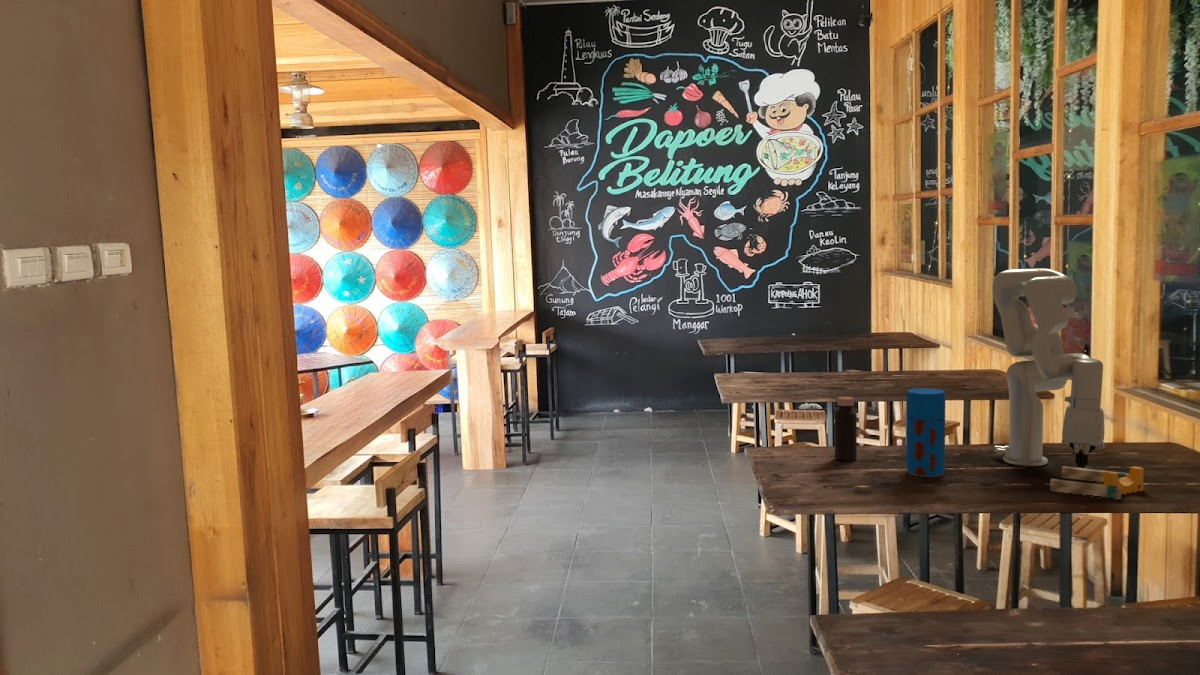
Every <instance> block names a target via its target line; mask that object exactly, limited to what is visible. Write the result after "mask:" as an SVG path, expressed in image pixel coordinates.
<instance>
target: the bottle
mask: <svg viewBox="0 0 1200 675" xmlns="http://www.w3.org/2000/svg"><path fill="white" fill-rule="evenodd" d="M854 403H855V402H854V397H852V396H838V397H837V407H838V409H837V410H836V411H835V412H834V458H835V460H836V459H837V460H836V461H839V460H840V461H839V462H853V461H852V460H854V461H856V460H857V459H858V458H857V457H858V455H857V454H858V453H857V452H858V451H857V450H858V448H857V446H858V444H857V440H858V438H857V435H858V434H857V433H858V432H857V431H858V430H857V424H858V423H857V415H858V414H857V413H856V411H855V410H854V409H853V407H854Z"/></svg>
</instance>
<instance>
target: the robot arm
mask: <svg viewBox="0 0 1200 675" xmlns="http://www.w3.org/2000/svg"><path fill="white" fill-rule="evenodd" d="M1077 293H1078V289H1077V286H1076V283H1075V282H1074V280H1073V279H1072V278H1071V277H1070V276H1068V275H1066V274H1063V273H1062V272H1058V271H1056V270H1053V269H1050V268H1044V267H1041V268H1039V267H1038V268H1016V269H1015V268H1014V269H1006V270H1003V271H1000V272H999V273H997V275H995V277H994V279H993V282H992V296H993V300H994V303H995V306H996V308H997V310H998V313H999V315H1000V319H1001V325H1002V330H1003V336H1004V341H1005V345H1006V350H1007V352H1008V353H1009V355H1010V356H1012V357H1016V358H1033V360H1030V359H1029V360H1021V361H1020V360H1019V361H1016V362H1014V363H1011V365H1009V366H1008V367H1007V370H1006V374H1005V376H1006V383H1007V387H1008V397H1009V398H1008V400H1009V410H1008V411H1009V417H1008V418H1009V420H1008V421H1009V423H1008V424H1009V426H1008V445H1005V446H1002V445H994V452H995V453H997V454H1004V456H1003V457H1002V458H1003V461H1004V462H1005V463H1007V464H1010V465H1015V466H1022V467H1042V466H1045V465H1047V464H1049V461H1048V460H1049V458H1047V457H1045V456H1043V446H1044V445H1043V444H1044V443H1043V442H1044V441H1043V439H1044V437H1043V436H1044V406H1043V402H1042V400H1041V399H1040V397H1039V396H1038V395H1037V392H1045V391H1046V392H1047V391H1058V390H1062V389H1064V387H1065V386H1066V385H1067V382H1068V381H1070V380H1071V385H1070V386H1071V387H1070V388H1071V389H1070V395H1069V396H1065V397H1064V402H1066V403H1068V405H1067V406H1066V409H1065V411H1064V412H1065V413H1064V417H1063V422H1062V423H1063V424H1062V435H1061V438H1062V439H1061V444H1062V445H1065V446H1069V447H1070V448H1071V449H1072V450H1073V451H1074V453H1075V458H1074V462H1075V464H1077V465H1076V466H1077V467H1076V468H1084V469H1085V467H1086V466H1087V465H1088V464H1089V454H1090V453H1091V452H1093V451H1094V450H1103V449H1104V448H1105V447H1106V446H1105V442H1104V440H1105V414H1104V409H1103V408H1102V407H1101V404H1102V390H1103V378H1104V377H1103V376H1104V375H1103V374H1104V364H1103V362H1102V361H1101V360H1099V359H1097V358H1093V357H1090V356H1089V355H1088V354H1086V353H1083V352H1082V353H1081V352H1073V353H1071V352H1070V353H1069V352H1068V353H1066V352H1064V348H1063V343H1062V339H1061V336H1060V334H1059V332H1060V331H1061V330H1063V329H1064V328H1065V327H1067V325H1069V321H1070V320H1069V319H1070V318H1069V316H1068V314H1067V311H1066V309H1065V307H1064V305H1067V304H1071V303H1073V302H1074V301H1075V299H1076V298H1077V295H1078V294H1077ZM1019 297H1025V299H1026V302H1027V303H1028V306H1029V308H1030V310H1029V308H1028V307H1027V305H1026V304H1025V303H1024V302H1023V301H1022V300H1020V298H1019ZM1030 311H1031V312H1030ZM1031 313H1032V315H1031ZM1032 316H1033V319H1034V321H1035V323H1036V325H1034V323H1033V319H1032ZM1081 445H1085V446H1084V449H1083V450H1082V446H1081Z"/></svg>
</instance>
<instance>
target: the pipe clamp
mask: <svg viewBox="0 0 1200 675" xmlns="http://www.w3.org/2000/svg"><path fill="white" fill-rule="evenodd" d="M1105 471H1106V472H1104V483H1103V485H1113V486H1118V487H1121V494H1124V495H1127V494H1126V493H1129V494H1132V493H1131V492H1134V493H1138V492H1137V491H1140V492H1143V491H1144V478H1145V476H1144V475H1145V474H1144V473H1145V472H1144V471H1145V468H1143V467H1139V466H1136V465H1135V466H1130V467H1129V472H1128V473H1129V475H1128V477H1122V478H1120V479H1118V473H1115V472H1116V471H1112V470H1105ZM1142 490H1143V491H1142Z"/></svg>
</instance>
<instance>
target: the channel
mask: <svg viewBox="0 0 1200 675" xmlns="http://www.w3.org/2000/svg"><path fill="white" fill-rule="evenodd" d="M1106 471H1107V470H1101V469H1092V468H1085V467H1084V468H1082V467H1075V466H1066V465H1065V466H1062V467H1061V479H1057V478H1051V479H1050V490H1049V491H1050V492H1055V493H1062V492H1063V493H1065V494H1070V493H1072V495H1078V494H1082V495H1081V496H1086V495H1093V496H1092V497H1094V496H1102V497H1107V498H1106V499H1110V498H1113V499H1112V500H1118V499H1120V500H1121V499H1122V495H1121V487H1118V486H1113V485H1104V484H1101V483H1102V482H1104V472H1106ZM1114 472H1115V473H1118V479H1120V478H1122V477H1128V475H1129V472H1124V471H1123V472H1122V471H1114ZM1066 479H1068V480H1066ZM1069 479H1070V480H1069ZM1076 479H1077V480H1078V481H1075V480H1076ZM1085 480H1086V482H1083V481H1085ZM1093 481H1096V482H1095V483H1093ZM1099 483H1100V484H1099ZM1102 497H1101V498H1102Z"/></svg>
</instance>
